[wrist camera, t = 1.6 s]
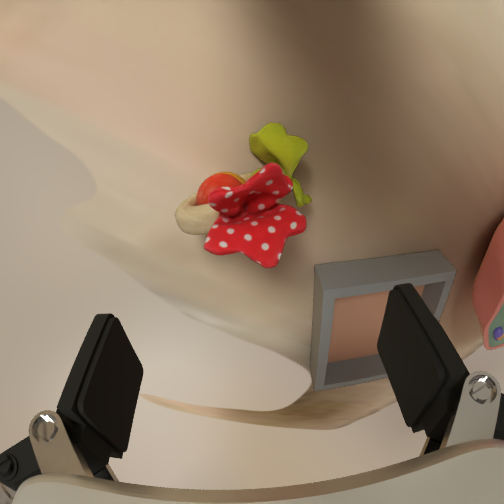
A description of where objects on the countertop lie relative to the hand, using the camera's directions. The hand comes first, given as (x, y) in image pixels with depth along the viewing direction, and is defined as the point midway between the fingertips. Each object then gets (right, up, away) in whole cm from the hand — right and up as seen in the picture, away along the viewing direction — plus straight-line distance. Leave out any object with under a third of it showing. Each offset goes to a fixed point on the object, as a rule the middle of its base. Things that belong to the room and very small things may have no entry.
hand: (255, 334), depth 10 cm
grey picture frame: (+12, -4, +20) cm, 24 cm away
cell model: (+29, +4, +16) cm, 34 cm away
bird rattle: (-1, +8, +12) cm, 15 cm away
